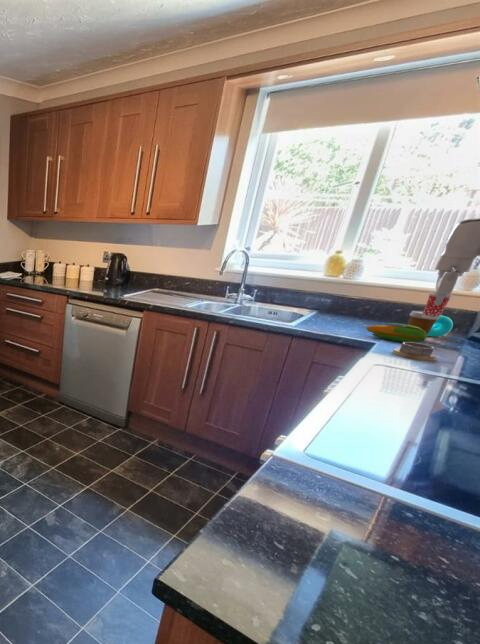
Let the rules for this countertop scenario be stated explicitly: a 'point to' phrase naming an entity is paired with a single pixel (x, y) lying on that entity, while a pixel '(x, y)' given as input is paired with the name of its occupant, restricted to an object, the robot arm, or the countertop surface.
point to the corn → (398, 333)
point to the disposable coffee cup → (421, 321)
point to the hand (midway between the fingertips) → (436, 303)
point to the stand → (415, 351)
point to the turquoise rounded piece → (441, 327)
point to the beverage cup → (435, 306)
